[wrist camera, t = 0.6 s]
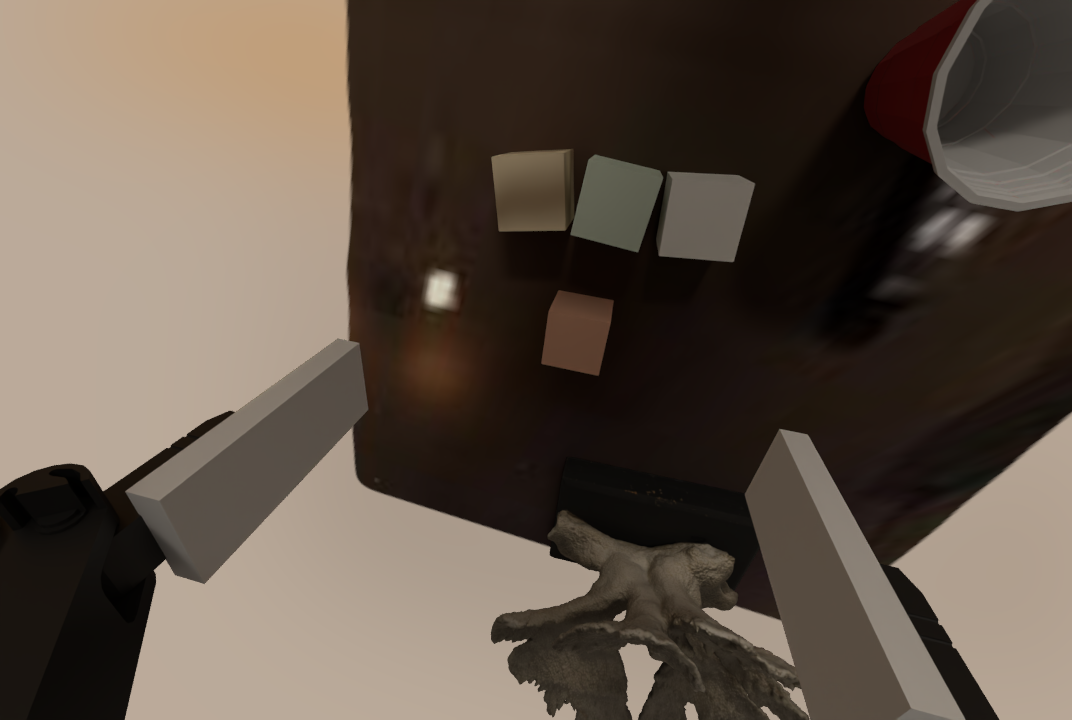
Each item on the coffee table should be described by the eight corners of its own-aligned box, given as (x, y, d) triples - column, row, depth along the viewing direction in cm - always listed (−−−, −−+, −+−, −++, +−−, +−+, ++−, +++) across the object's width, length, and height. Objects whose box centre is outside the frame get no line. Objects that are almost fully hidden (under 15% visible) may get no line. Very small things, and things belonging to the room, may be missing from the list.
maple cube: (510, 152, 32) (491, 156, 28) (573, 148, 31) (563, 152, 27) (515, 218, 35) (498, 231, 31) (574, 217, 34) (565, 230, 30)
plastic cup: (926, 206, 28) (1088, 252, 18) (783, 144, 28) (865, 156, 18) (1092, 14, 23) (1462, -75, 12) (912, -64, 23) (1137, -216, 12)
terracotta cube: (558, 289, 37) (548, 311, 33) (613, 300, 37) (610, 323, 32) (551, 338, 40) (541, 363, 36) (602, 348, 39) (598, 375, 35)
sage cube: (595, 154, 31) (588, 159, 27) (659, 170, 31) (663, 177, 27) (578, 220, 34) (570, 234, 30) (637, 236, 33) (637, 252, 29)
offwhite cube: (667, 171, 31) (672, 179, 27) (738, 175, 30) (755, 183, 26) (655, 239, 33) (658, 256, 29) (720, 244, 32) (733, 262, 28)
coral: (527, 524, 54) (472, 727, 36) (547, 401, 44) (484, 601, 25) (722, 575, 51) (769, 825, 33) (794, 457, 41) (922, 728, 22)
